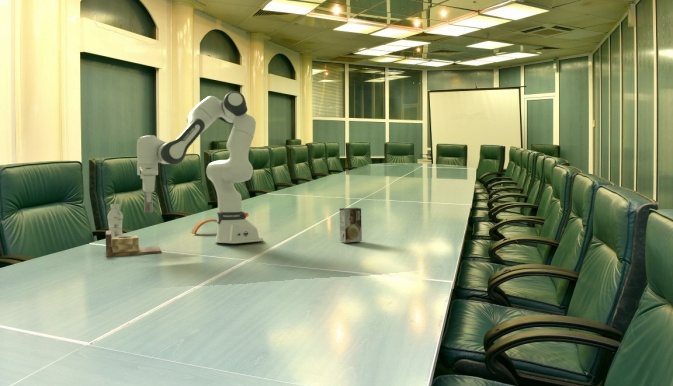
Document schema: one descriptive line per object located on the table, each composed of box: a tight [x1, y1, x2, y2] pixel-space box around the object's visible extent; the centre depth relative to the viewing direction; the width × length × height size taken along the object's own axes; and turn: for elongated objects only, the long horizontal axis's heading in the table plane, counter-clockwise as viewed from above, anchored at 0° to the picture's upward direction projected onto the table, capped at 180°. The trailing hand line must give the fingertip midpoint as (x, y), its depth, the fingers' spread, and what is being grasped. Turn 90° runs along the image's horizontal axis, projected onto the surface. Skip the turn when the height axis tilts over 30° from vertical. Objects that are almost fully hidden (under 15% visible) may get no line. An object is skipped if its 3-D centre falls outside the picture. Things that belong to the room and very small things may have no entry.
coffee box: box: [339, 207, 363, 244], centre depth 238 cm, size 9×6×16 cm
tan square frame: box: [112, 235, 140, 253], centre depth 207 cm, size 10×10×6 cm
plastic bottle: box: [106, 203, 124, 239], centre depth 222 cm, size 6×7×20 cm
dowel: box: [143, 191, 154, 214], centre depth 222 cm, size 4×4×12 cm
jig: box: [105, 230, 162, 258], centre depth 208 cm, size 21×16×9 cm
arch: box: [190, 218, 217, 235], centre depth 259 cm, size 6×20×10 cm, turn 120°
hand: (148, 201), depth 222 cm, fingers closed on dowel, 4 cm apart
